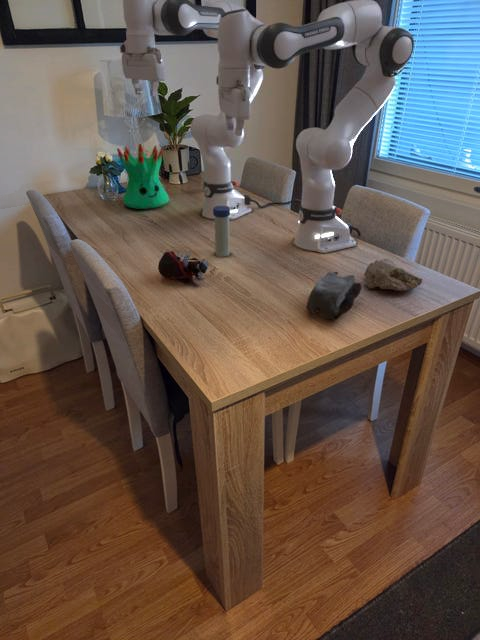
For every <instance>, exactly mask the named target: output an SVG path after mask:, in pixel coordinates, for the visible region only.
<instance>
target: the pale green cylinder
mask: <svg viewBox="0 0 480 640" xmlns="http://www.w3.org/2000/svg"><path fill="white" fill-rule="evenodd" d="M214 218H215V219H214V246H215V248H214V249H215V250H214V251H215V252H214V253H215V256H216V257H219V258H226V257H229V256H230V220H229V216H227V217H216V216H214Z"/></svg>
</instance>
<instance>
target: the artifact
mask: <svg viewBox="0 0 480 640" xmlns="http://www.w3.org/2000/svg"><path fill="white" fill-rule="evenodd" d="M364 277H365V278H364V279H365V280H364V283H365V285H366V286H367V287H368V289H369V290H372V289H374V288H376V287H377V288H380V290H394V291H400V292H405V291H407V290H409V289H410V290H414V289H415V288H417V287H419V286H421V284H422V282H423V279H422V278H420V277H418V276H416V275H414V274H412V273H410V272H408V271H407V270H405V269H403V268H401V267H399V266H398V265H396V264H395V263H394V262H393V260H391V259H390V258H384V259H381V260H375V261H374V262H370V263H369V264H368V265H367V267H366V269H365V272H364Z"/></svg>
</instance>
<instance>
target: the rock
mask: <svg viewBox="0 0 480 640" xmlns="http://www.w3.org/2000/svg"><path fill="white" fill-rule="evenodd" d="M361 290H362V284H361V283H360V282H356V278H355V276H354V275H353V274H349V275H345V276H339V272H338V271H327V272H326V274H324V275H323V276H322V277H321V278H320V279H319V280H318V281H317V283H315V285H314V287H313V288H312V289H311V291H310V294H309V296H308V299H307V302H306V305H305V306H306V307H305V308H306V310H307V311H308V312H309V313H312V314H315V313H317V312H318V313H319V315H320V316H322V317H323V318H325V319H327V320H329V319H332V320H334V321H336V320H338V319H339V318H340V317H341V316H343V315H345V314H346V313H348V311H350V310H351V309H352V308H353V305H354V303H355V299H356V298H358V296H359V295H360V293H361Z"/></svg>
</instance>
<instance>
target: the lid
mask: <svg viewBox="0 0 480 640" xmlns="http://www.w3.org/2000/svg"><path fill="white" fill-rule="evenodd" d="M213 214H214V216H216V217H227V216H229V215H230V208H229V207H228V206H216V207H214V208H213Z"/></svg>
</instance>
